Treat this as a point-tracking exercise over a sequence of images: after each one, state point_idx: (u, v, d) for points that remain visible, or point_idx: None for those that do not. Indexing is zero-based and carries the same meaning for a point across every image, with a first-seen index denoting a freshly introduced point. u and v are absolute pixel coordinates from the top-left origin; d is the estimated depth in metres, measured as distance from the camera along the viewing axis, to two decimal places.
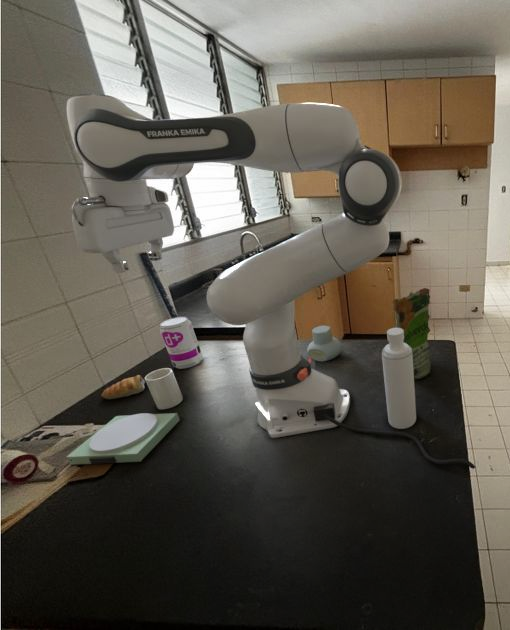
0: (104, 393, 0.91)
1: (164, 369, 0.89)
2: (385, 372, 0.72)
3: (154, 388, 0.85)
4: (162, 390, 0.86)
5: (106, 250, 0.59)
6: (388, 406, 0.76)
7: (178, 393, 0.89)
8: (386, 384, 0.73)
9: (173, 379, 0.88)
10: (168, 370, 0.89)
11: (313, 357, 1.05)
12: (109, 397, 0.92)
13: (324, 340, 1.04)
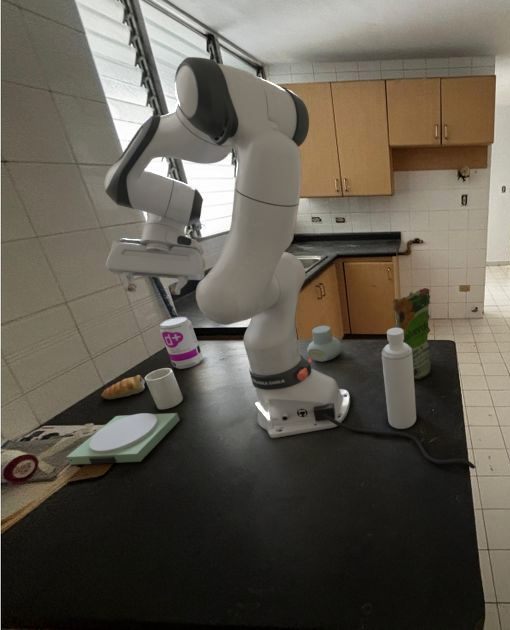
0: (104, 393, 0.91)
1: (164, 369, 0.89)
2: (385, 372, 0.72)
3: (154, 388, 0.85)
4: (162, 390, 0.86)
5: (111, 267, 0.81)
6: (388, 406, 0.76)
7: (178, 393, 0.89)
8: (386, 384, 0.73)
9: (173, 379, 0.88)
10: (168, 370, 0.89)
11: (313, 357, 1.05)
12: (109, 397, 0.92)
13: (324, 340, 1.04)
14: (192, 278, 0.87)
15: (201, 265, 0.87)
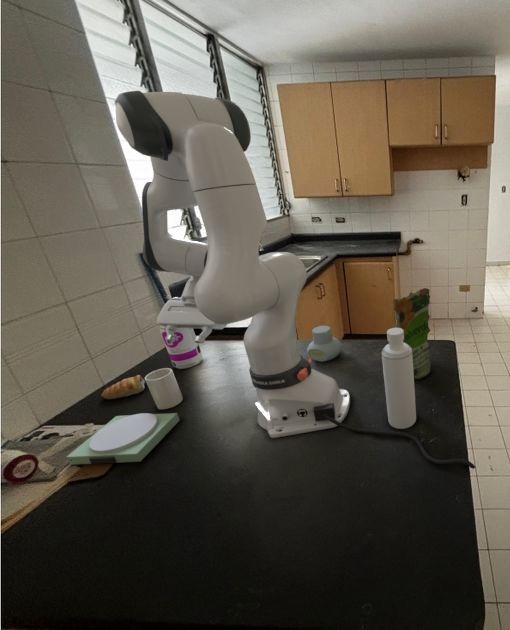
0: (104, 393, 0.91)
1: (164, 369, 0.89)
2: (385, 372, 0.72)
3: (154, 388, 0.85)
4: (162, 390, 0.86)
5: (159, 322, 0.95)
6: (388, 406, 0.76)
7: (178, 393, 0.89)
8: (386, 384, 0.73)
9: (173, 379, 0.88)
10: (168, 370, 0.89)
11: (313, 357, 1.05)
12: (109, 397, 0.92)
13: (324, 340, 1.04)
14: (215, 328, 0.95)
15: None
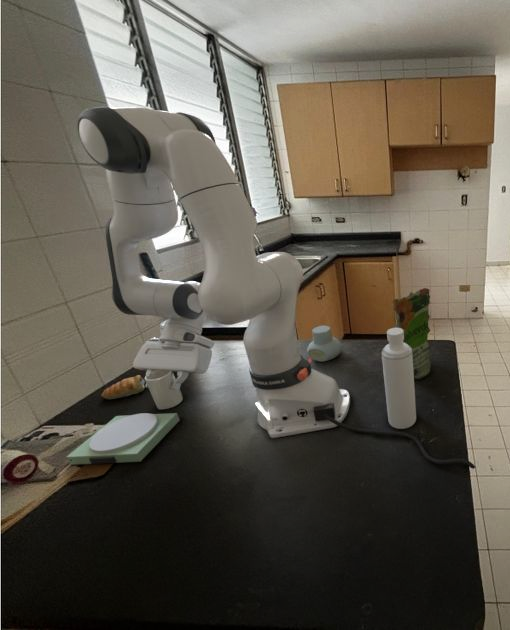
0: (104, 393, 0.91)
1: None
2: (385, 372, 0.72)
3: (154, 388, 0.85)
4: (162, 390, 0.86)
5: (135, 366, 0.89)
6: (388, 406, 0.76)
7: (178, 393, 0.89)
8: (386, 384, 0.73)
9: (173, 379, 0.88)
10: (168, 370, 0.89)
11: (313, 357, 1.05)
12: (109, 397, 0.92)
13: (324, 340, 1.04)
14: (195, 372, 0.88)
15: (201, 359, 0.88)
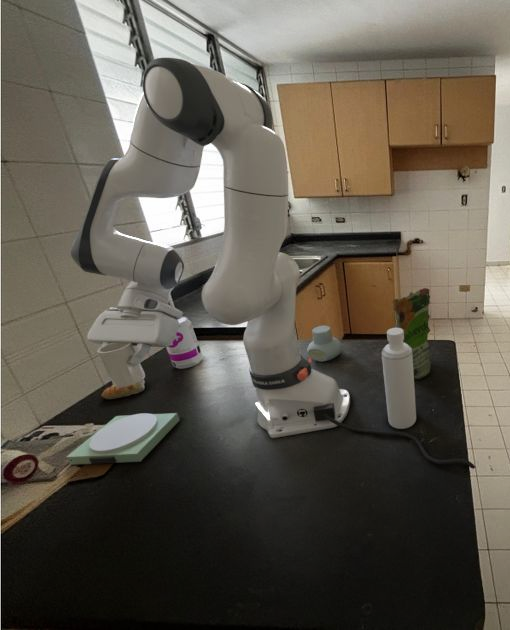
0: (104, 393, 0.91)
1: None
2: (385, 372, 0.72)
3: (108, 362, 0.73)
4: (118, 364, 0.74)
5: (89, 338, 0.77)
6: (388, 406, 0.76)
7: (139, 369, 0.77)
8: (386, 384, 0.73)
9: (132, 353, 0.76)
10: (127, 343, 0.77)
11: (313, 357, 1.05)
12: (109, 397, 0.92)
13: (324, 340, 1.04)
14: (158, 345, 0.76)
15: (164, 330, 0.75)
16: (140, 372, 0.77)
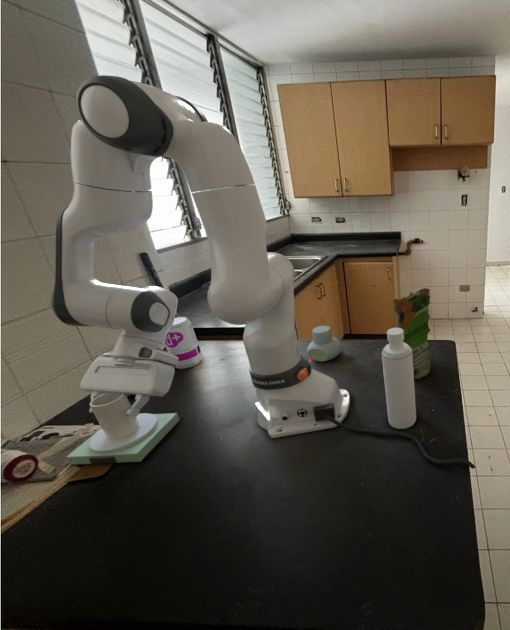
0: None
1: None
2: (385, 372, 0.72)
3: (101, 415, 0.71)
4: (111, 417, 0.72)
5: (82, 388, 0.75)
6: (388, 406, 0.76)
7: (133, 420, 0.75)
8: (386, 384, 0.73)
9: (126, 404, 0.74)
10: (120, 393, 0.75)
11: (313, 357, 1.05)
12: None
13: (324, 340, 1.04)
14: (152, 395, 0.74)
15: (159, 380, 0.73)
16: (134, 422, 0.75)
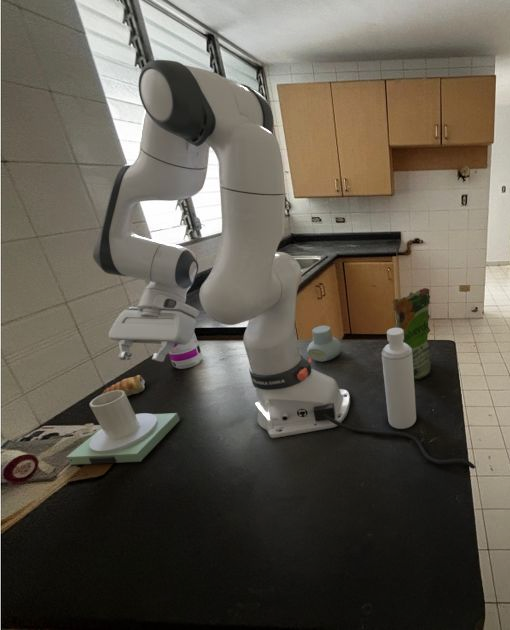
0: None
1: (116, 391, 0.75)
2: (385, 372, 0.72)
3: (101, 415, 0.71)
4: (111, 417, 0.72)
5: (111, 336, 0.81)
6: (388, 406, 0.76)
7: (133, 420, 0.75)
8: (386, 384, 0.73)
9: (126, 404, 0.74)
10: (120, 393, 0.75)
11: (313, 357, 1.05)
12: None
13: (324, 340, 1.04)
14: (177, 343, 0.80)
15: (183, 328, 0.79)
16: (134, 422, 0.75)
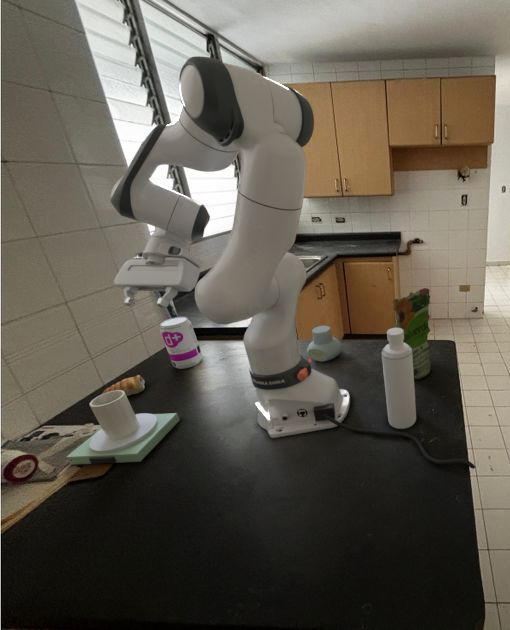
0: None
1: (116, 391, 0.75)
2: (385, 372, 0.72)
3: (101, 415, 0.71)
4: (111, 417, 0.72)
5: (116, 283, 0.82)
6: (388, 406, 0.76)
7: (133, 420, 0.75)
8: (386, 384, 0.73)
9: (126, 404, 0.74)
10: (120, 393, 0.75)
11: (313, 357, 1.05)
12: None
13: (324, 340, 1.04)
14: (181, 289, 0.81)
15: (187, 274, 0.81)
16: (134, 422, 0.75)
